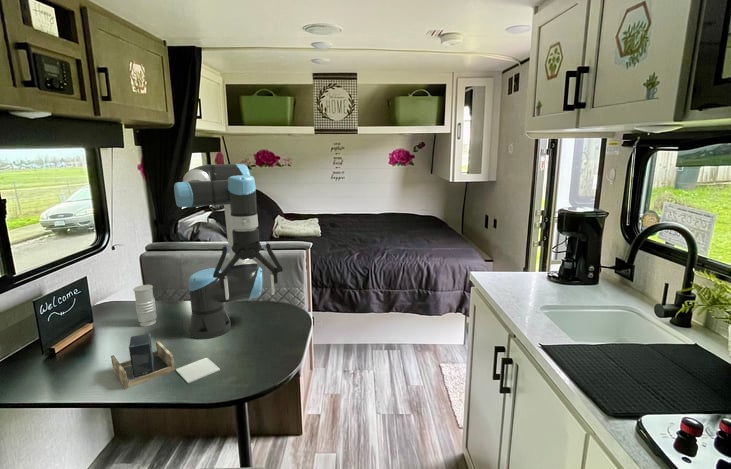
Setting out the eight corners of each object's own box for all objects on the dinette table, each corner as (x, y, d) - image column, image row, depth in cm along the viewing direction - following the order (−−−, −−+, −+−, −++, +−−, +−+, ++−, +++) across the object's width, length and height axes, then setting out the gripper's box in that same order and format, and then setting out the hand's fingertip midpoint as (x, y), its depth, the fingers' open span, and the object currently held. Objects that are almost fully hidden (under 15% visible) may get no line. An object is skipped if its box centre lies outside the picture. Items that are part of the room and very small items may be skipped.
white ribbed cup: (161, 321, 161) (156, 286, 158) (144, 328, 156) (139, 292, 152) (151, 317, 165) (147, 283, 162) (134, 324, 159) (129, 288, 156)
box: (153, 374, 124) (149, 343, 122) (133, 378, 122) (128, 347, 120) (154, 362, 131) (150, 332, 129) (134, 366, 129) (130, 336, 127)
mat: (175, 370, 126) (175, 369, 126) (206, 358, 133) (206, 357, 133) (187, 383, 119) (187, 382, 119) (220, 370, 126) (220, 369, 126)
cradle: (113, 370, 127) (110, 355, 126) (160, 353, 136) (158, 340, 135) (125, 388, 117) (123, 373, 116) (175, 369, 126) (173, 355, 125)
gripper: (198, 234, 111) (206, 305, 116) (289, 228, 118) (292, 295, 123) (201, 228, 118) (208, 295, 123) (287, 223, 125) (290, 287, 130)
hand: (250, 295), depth 123 cm, fingers open, 13 cm apart
